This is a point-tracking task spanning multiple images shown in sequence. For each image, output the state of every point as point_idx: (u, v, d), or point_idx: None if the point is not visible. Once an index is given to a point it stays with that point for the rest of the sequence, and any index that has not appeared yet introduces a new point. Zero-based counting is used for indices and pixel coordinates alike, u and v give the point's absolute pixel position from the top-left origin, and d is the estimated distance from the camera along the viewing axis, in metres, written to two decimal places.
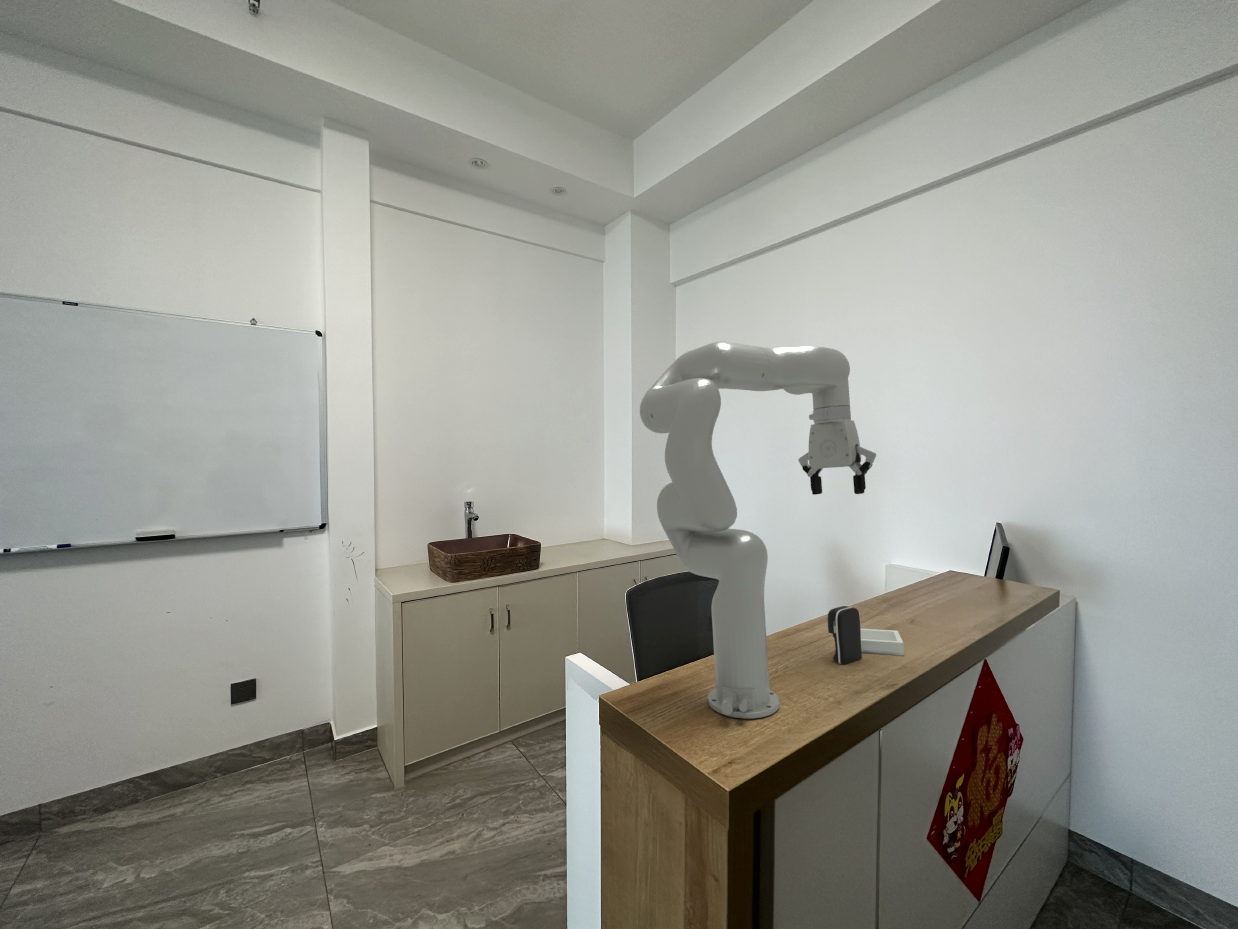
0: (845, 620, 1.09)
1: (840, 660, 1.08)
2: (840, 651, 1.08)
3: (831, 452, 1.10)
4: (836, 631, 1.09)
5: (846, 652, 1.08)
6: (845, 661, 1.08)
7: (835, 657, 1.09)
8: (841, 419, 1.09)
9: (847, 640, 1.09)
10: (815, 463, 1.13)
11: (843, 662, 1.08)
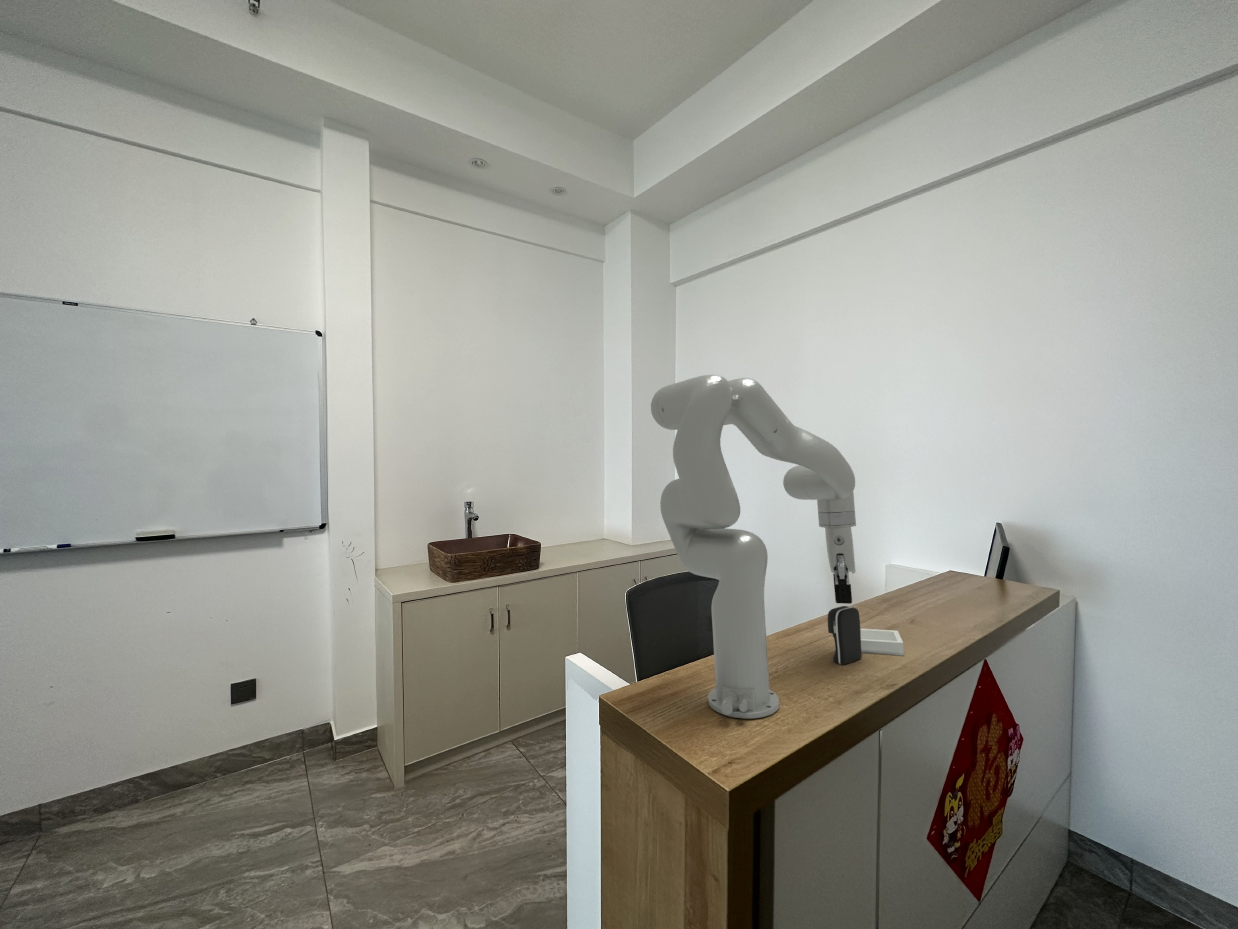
0: (845, 620, 1.09)
1: (840, 660, 1.08)
2: (840, 651, 1.08)
3: None
4: (836, 631, 1.09)
5: (846, 652, 1.08)
6: (845, 661, 1.08)
7: (835, 657, 1.09)
8: None
9: (847, 640, 1.09)
10: None
11: (843, 662, 1.08)
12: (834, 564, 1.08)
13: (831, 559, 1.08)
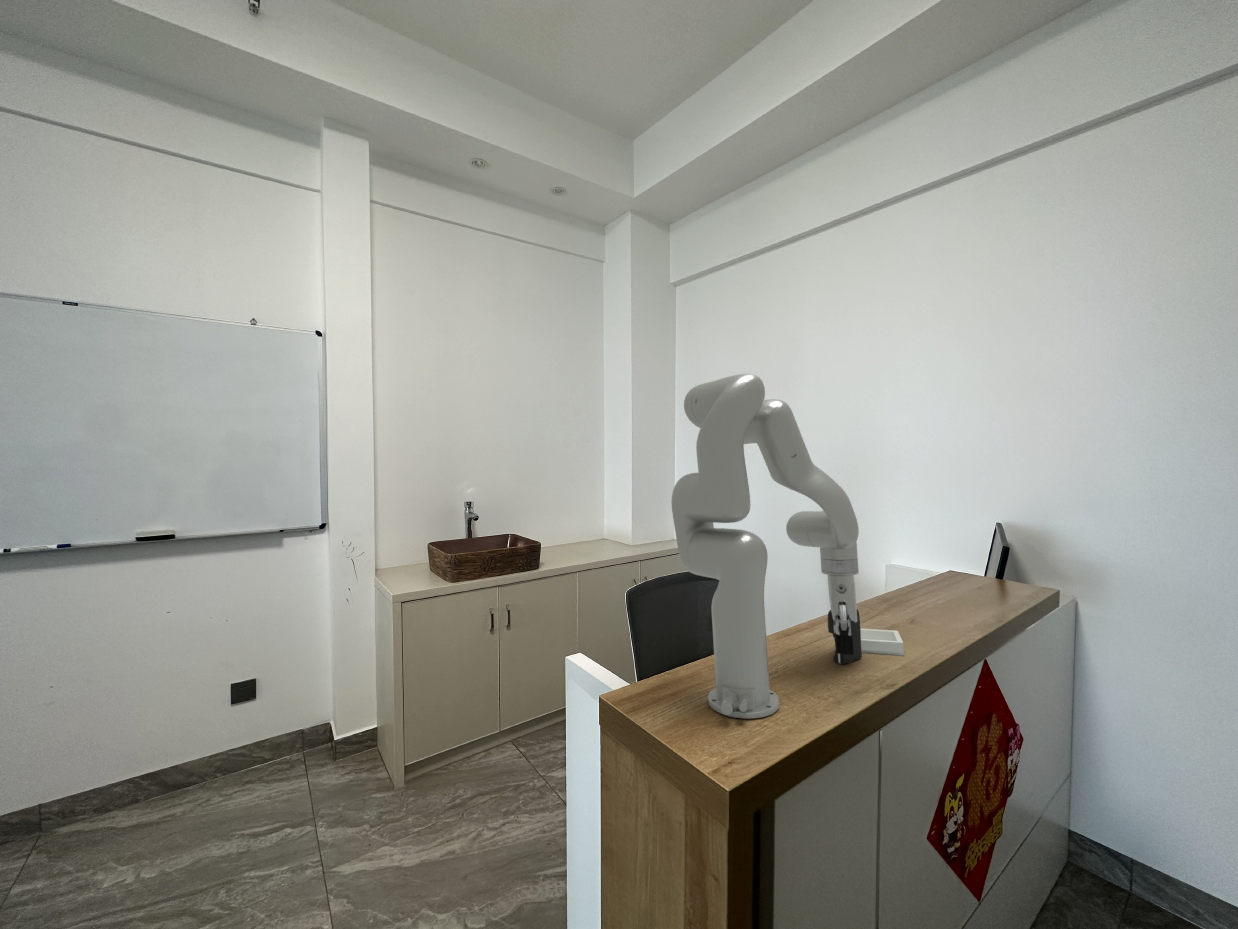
0: None
1: (840, 660, 1.08)
2: None
3: None
4: (836, 631, 1.09)
5: None
6: (844, 661, 1.08)
7: (835, 657, 1.10)
8: None
9: None
10: None
11: (843, 662, 1.08)
12: (836, 612, 1.07)
13: (833, 607, 1.07)
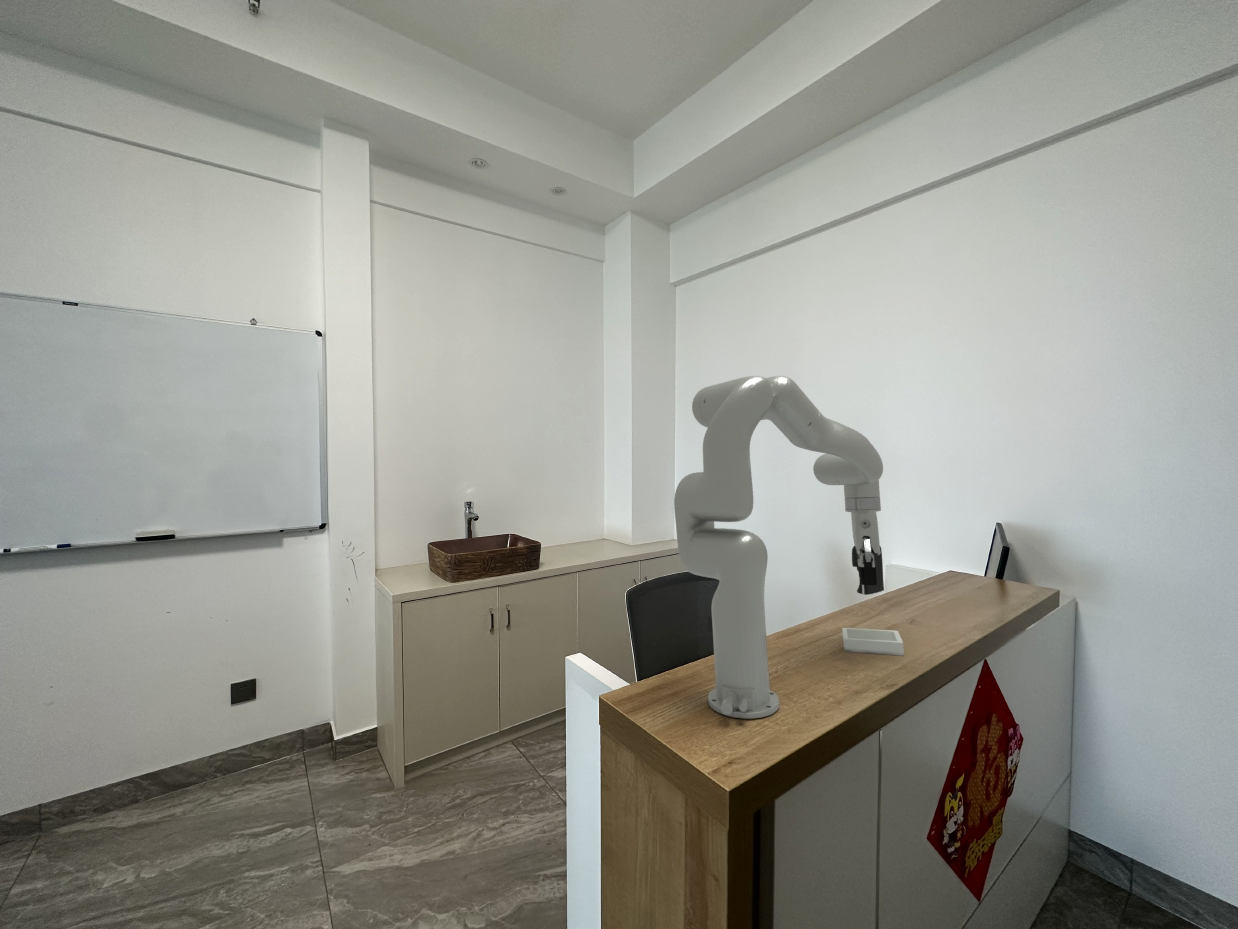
0: None
1: (864, 591, 1.16)
2: None
3: None
4: (860, 564, 1.16)
5: None
6: (868, 592, 1.16)
7: (859, 589, 1.17)
8: None
9: None
10: None
11: (867, 592, 1.15)
12: (860, 546, 1.14)
13: (857, 541, 1.15)
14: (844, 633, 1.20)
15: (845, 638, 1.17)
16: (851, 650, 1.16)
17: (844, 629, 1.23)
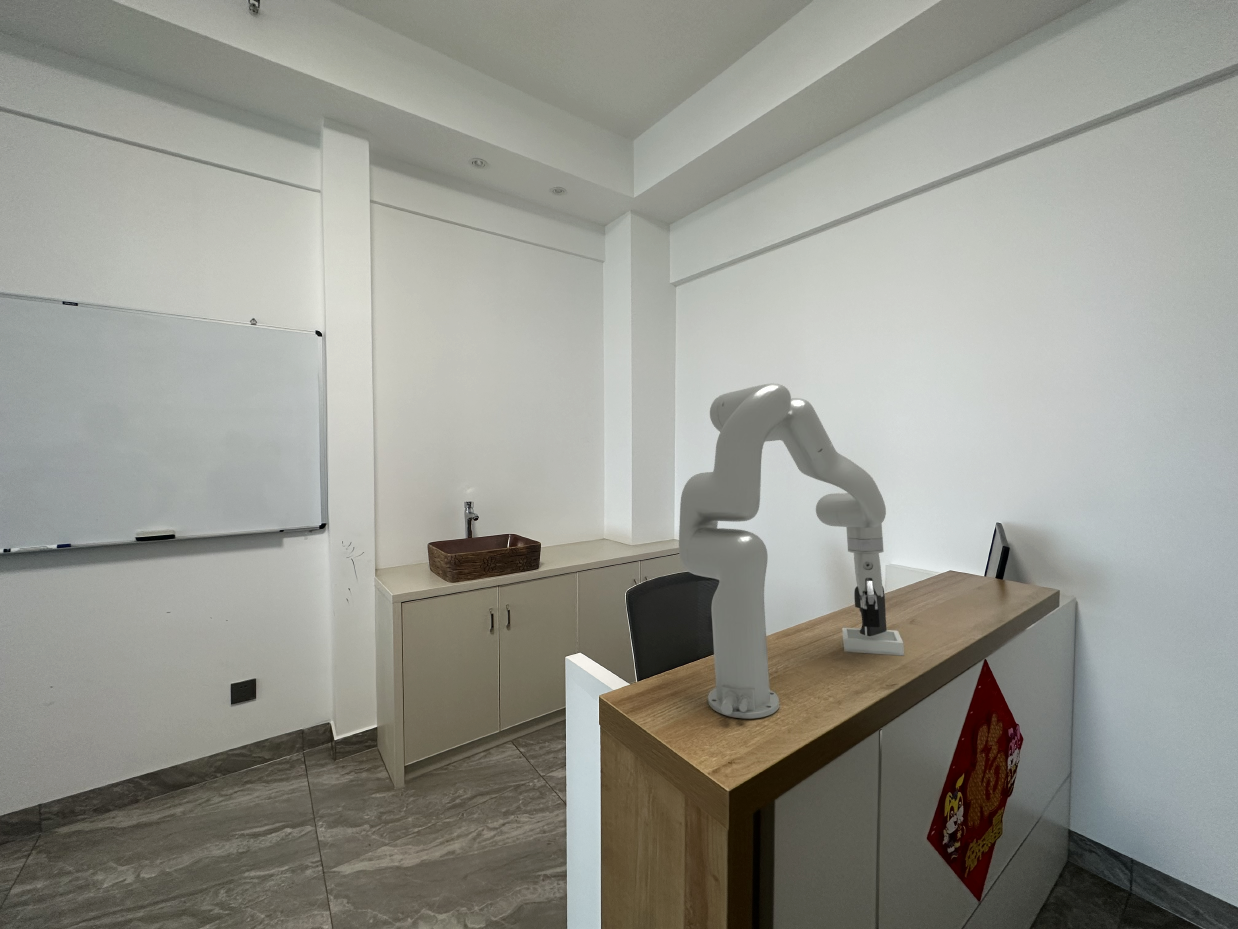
0: None
1: (867, 632, 1.16)
2: None
3: None
4: (863, 605, 1.16)
5: None
6: (871, 634, 1.15)
7: (862, 630, 1.17)
8: None
9: None
10: None
11: (870, 634, 1.15)
12: (863, 588, 1.14)
13: (860, 583, 1.15)
14: (844, 633, 1.20)
15: (845, 638, 1.17)
16: (851, 650, 1.16)
17: (844, 629, 1.23)
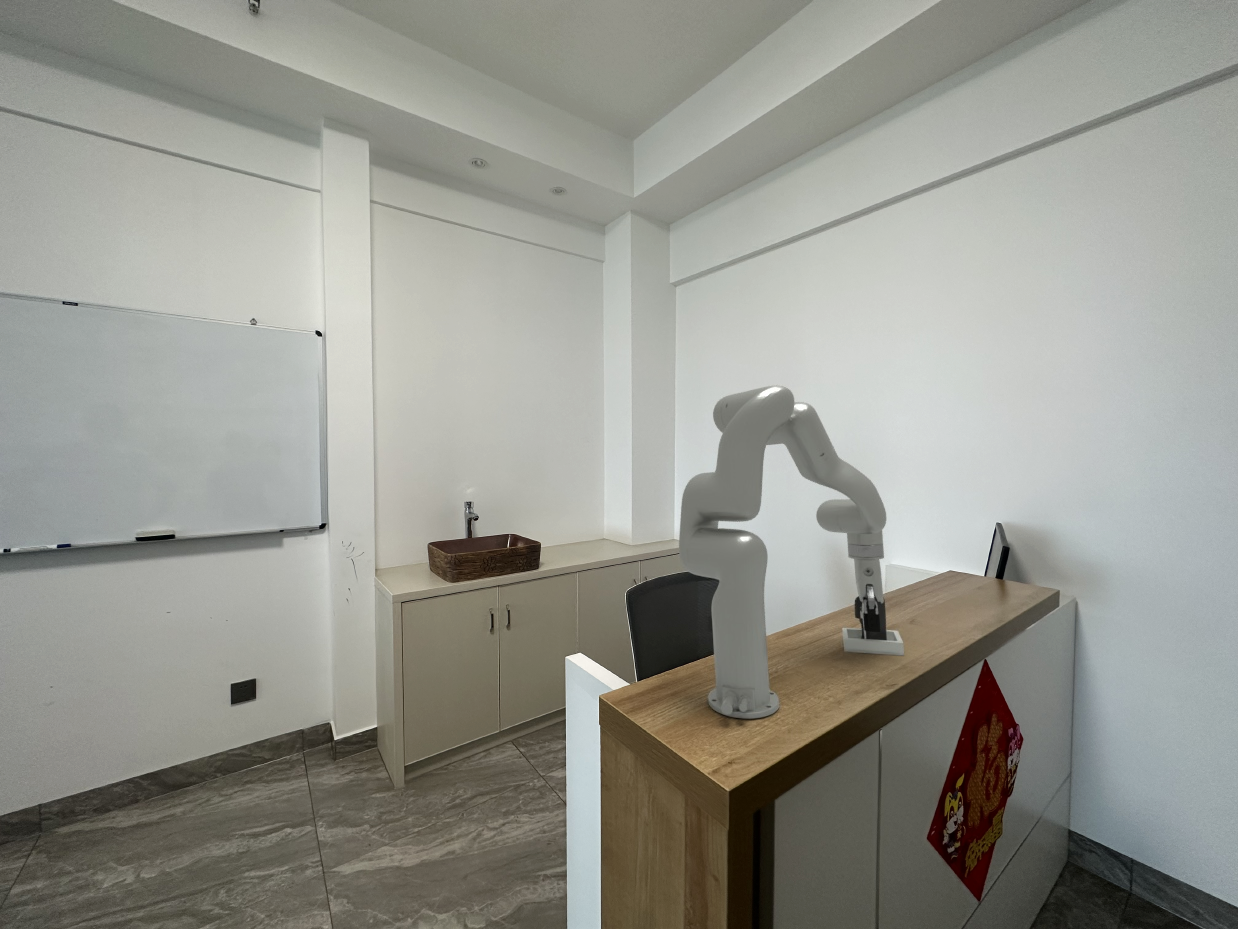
0: None
1: None
2: (866, 635, 1.16)
3: None
4: (862, 616, 1.16)
5: (872, 636, 1.16)
6: None
7: None
8: None
9: None
10: None
11: None
12: (863, 594, 1.14)
13: (861, 589, 1.15)
14: (844, 633, 1.20)
15: (845, 638, 1.17)
16: (851, 650, 1.16)
17: (844, 629, 1.23)
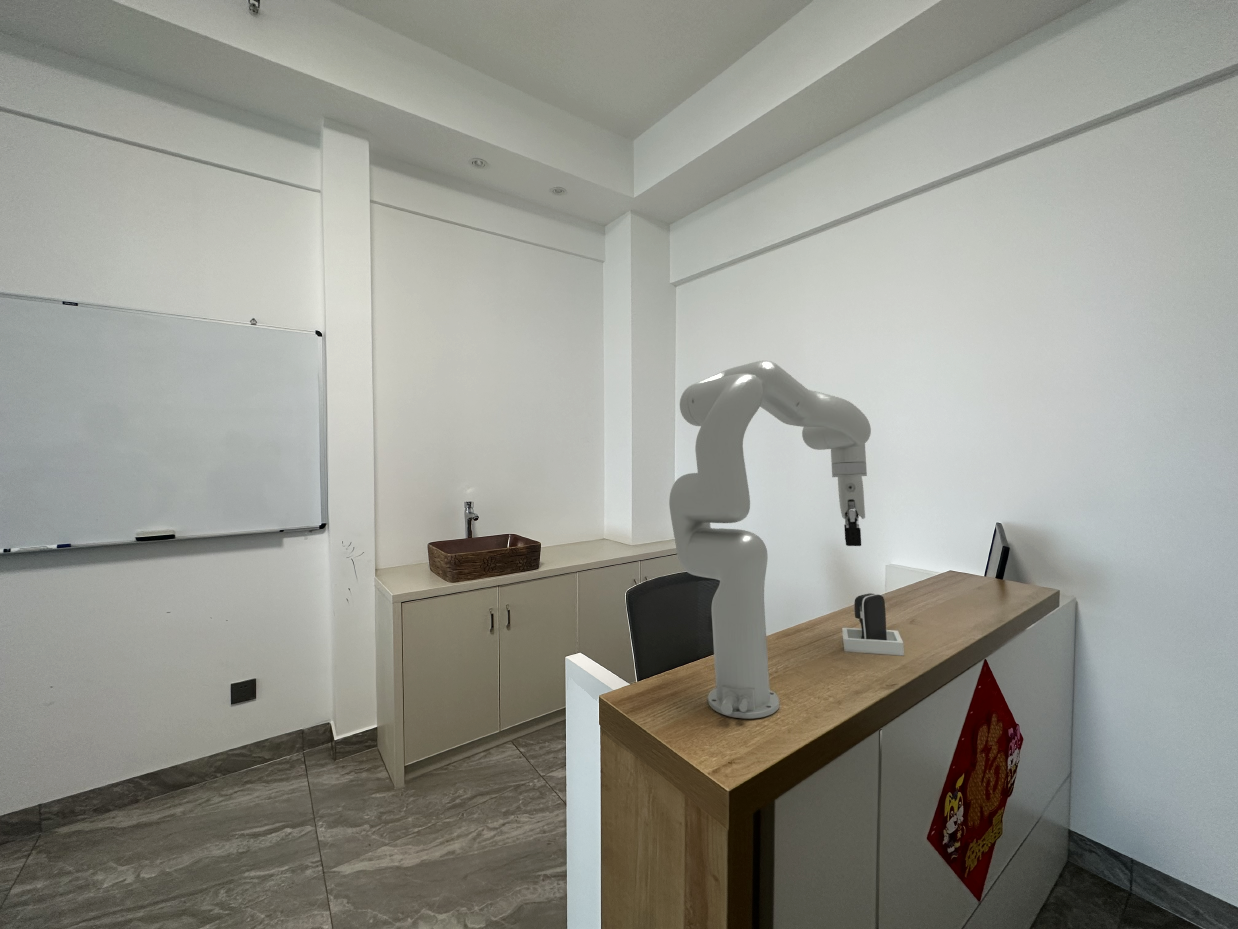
0: (871, 606, 1.16)
1: None
2: (866, 635, 1.16)
3: None
4: (862, 616, 1.16)
5: (872, 636, 1.16)
6: None
7: None
8: None
9: (873, 625, 1.16)
10: None
11: None
12: (845, 509, 1.16)
13: (843, 505, 1.16)
14: (844, 633, 1.20)
15: (845, 638, 1.17)
16: (851, 650, 1.16)
17: (844, 629, 1.23)
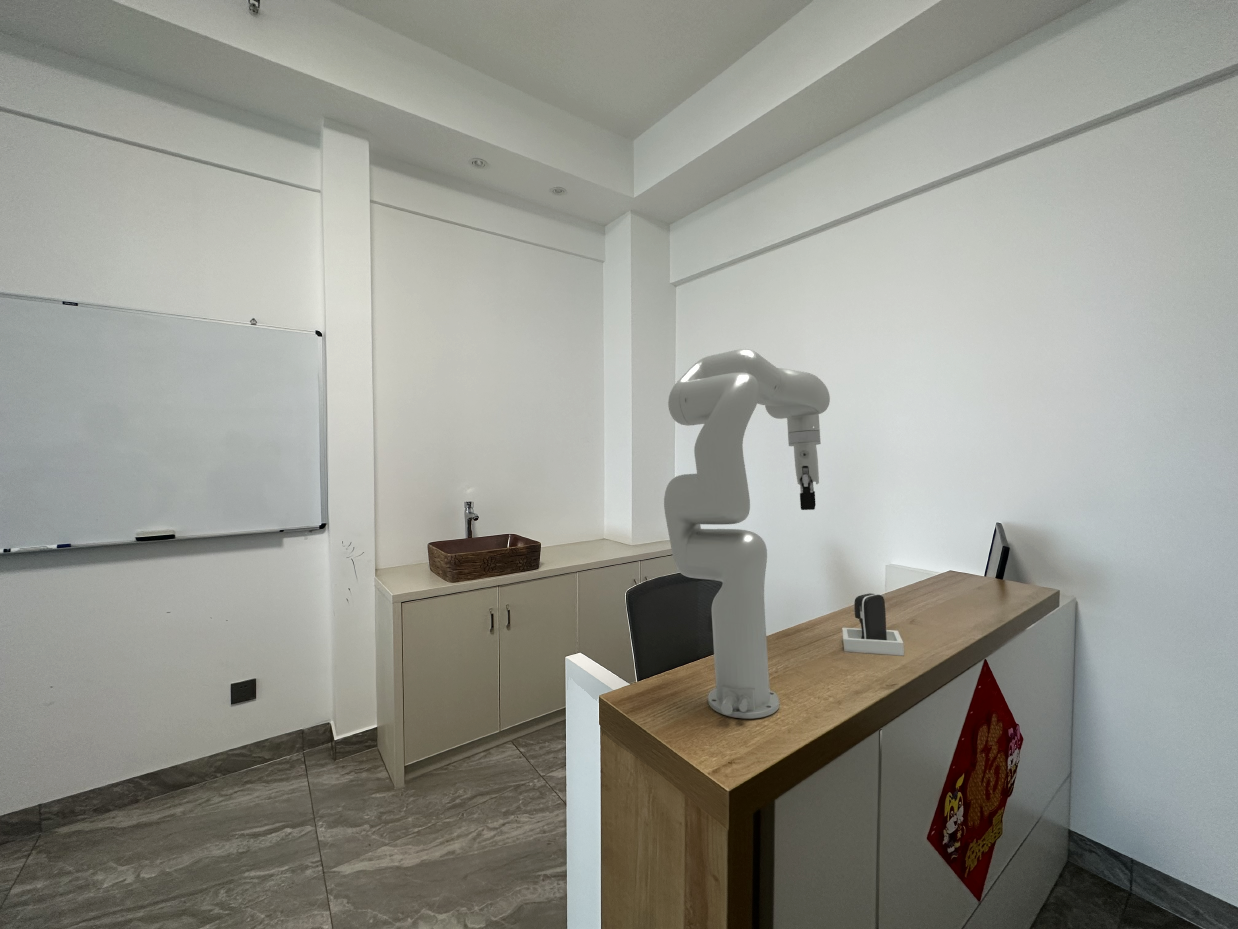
0: (871, 606, 1.16)
1: None
2: (866, 635, 1.16)
3: None
4: (862, 616, 1.16)
5: (872, 636, 1.16)
6: None
7: None
8: None
9: (873, 625, 1.16)
10: (818, 479, 1.22)
11: None
12: (800, 475, 1.22)
13: (797, 471, 1.23)
14: (844, 633, 1.20)
15: (845, 638, 1.17)
16: (851, 650, 1.16)
17: (844, 629, 1.23)
